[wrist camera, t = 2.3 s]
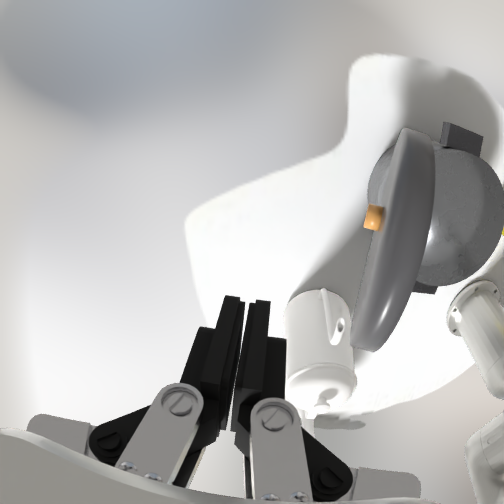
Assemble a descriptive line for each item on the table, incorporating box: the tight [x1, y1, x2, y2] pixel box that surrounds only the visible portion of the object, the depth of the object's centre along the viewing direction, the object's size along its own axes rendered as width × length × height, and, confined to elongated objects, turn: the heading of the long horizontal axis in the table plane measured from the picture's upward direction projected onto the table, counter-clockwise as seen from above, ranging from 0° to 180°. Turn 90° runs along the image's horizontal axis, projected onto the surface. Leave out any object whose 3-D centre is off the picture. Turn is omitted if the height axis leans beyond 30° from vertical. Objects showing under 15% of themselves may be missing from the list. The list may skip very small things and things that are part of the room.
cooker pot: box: [367, 122, 504, 294], centre depth 32 cm, size 16×21×11 cm
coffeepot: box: [283, 288, 357, 419], centre depth 39 cm, size 11×25×19 cm, turn 0°
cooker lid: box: [350, 128, 436, 352], centre depth 21 cm, size 17×17×3 cm
